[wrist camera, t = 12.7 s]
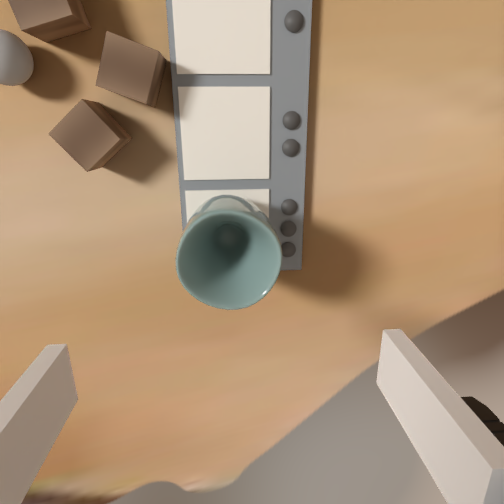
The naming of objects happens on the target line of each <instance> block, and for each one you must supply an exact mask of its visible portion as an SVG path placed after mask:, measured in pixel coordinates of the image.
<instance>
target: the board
mask: <svg viewBox="0 0 504 504" xmlns="http://www.w3.org/2000/svg"><path fill="white" fill-rule="evenodd" d="M166 7H167V21H168V35H169V49H170V62H171V76H172V90H173V103H174V117H175V131H176V144H177V158H178V172H179V185H180V199H181V213H182V226H183V231H184V228H185V226H186V224H187V223H188V221H189V219H190V217H191V216H192V214H193V213H194V212H195V210H196V209H197V208H198V207H199V206H200V205H201V204H202V203H203V202H205V201H206V200H208V199H210V198H212V197H214V196H218V195H222V194H230V195H236V196H240V197H242V198H245V199H247V200H249V201H251V202H252V203H254V204H255V205H257V206H258V207H259V208H260V209H261V210H262V211H263V212H264V213H265V214H266V216H267V217H268V218H269V220H270V221H271V223H272V225H273V227H274V229H275V231H276V233H277V235H278V238H279V240H280V242H281V248H282V266H281V269H280V270H301V268H302V243H303V218H304V193H305V168H306V143H307V118H308V93H309V67H310V42H311V17H312V0H166Z"/></svg>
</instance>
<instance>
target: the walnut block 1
mask: <svg viewBox="0 0 504 504" xmlns="http://www.w3.org/2000/svg"><path fill="white" fill-rule="evenodd" d="M8 1H9V3H10V6H11V8H12V10H13V12H14V15H15V17H16V19H17V22H18V24H19V26H20V28H21V30H22V31H24V32H26V33H28V34H30V35H32V36H34V37H36V38H38V39H40V40H42V41H44V42H50V41H53V40H56V39H59V38H62V37H66V36H69V35H72V34H75V33H79V32H82V31H85V30H88V29H91V27H90V24H89V21H88V19H87V16H86V13H85V11H84V8H83V5H82V3H81V0H8Z"/></svg>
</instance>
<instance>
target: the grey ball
mask: <svg viewBox="0 0 504 504" xmlns="http://www.w3.org/2000/svg"><path fill="white" fill-rule="evenodd" d="M33 68H34V62H33V57H32V54H31V52H30V50H29V48H28V47H27V45H26V44H25V43H24V42H23V41H22V40H21V39H20V38H19V37H17V36H16V35H14V34H12V33H10V32H8V31H5V30H2V29H0V84H3V85H9V86H15V85H20V84H22V83H24V82H26V81H27V80H28V79H29V78H30V76H31V75H32V72H33Z"/></svg>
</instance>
